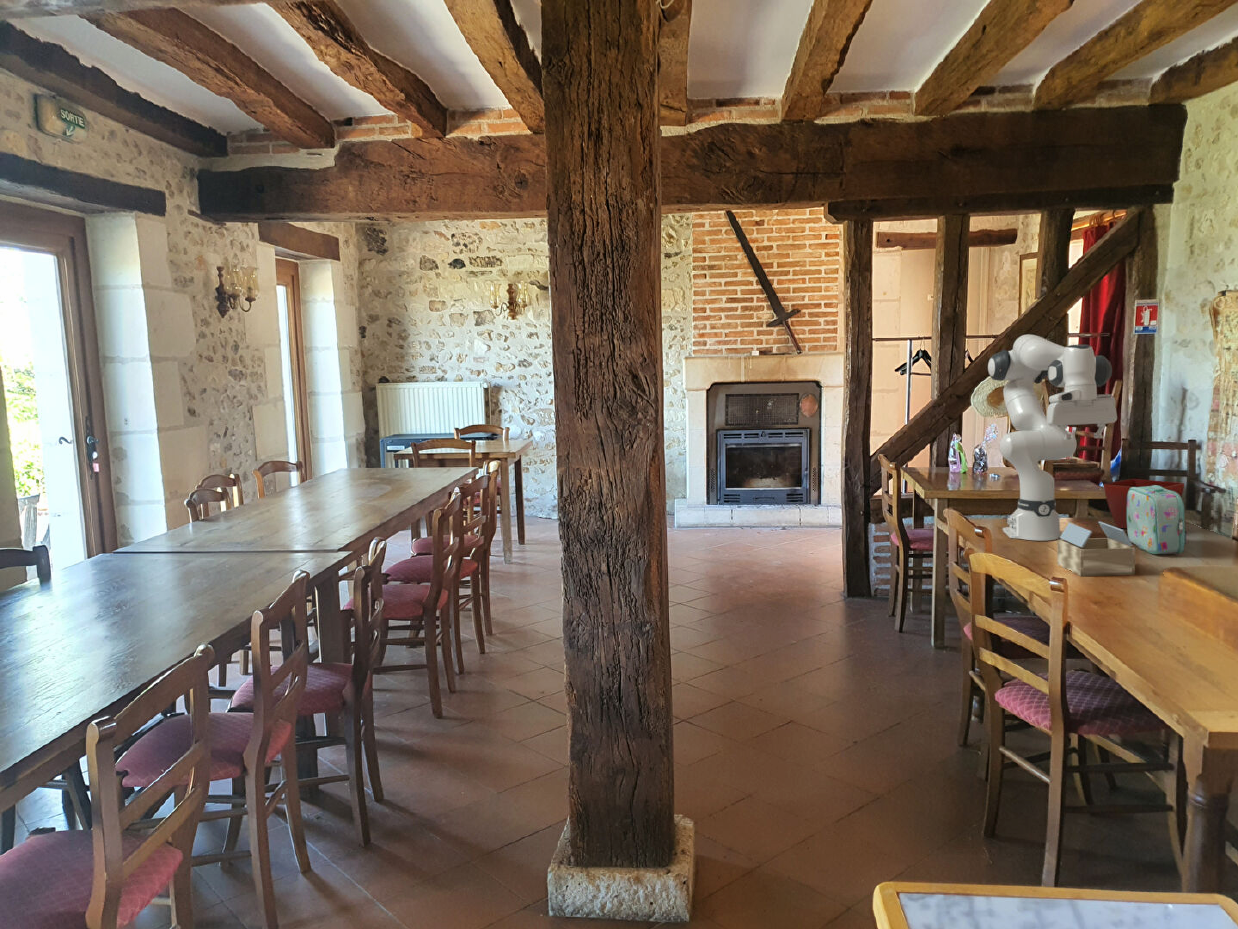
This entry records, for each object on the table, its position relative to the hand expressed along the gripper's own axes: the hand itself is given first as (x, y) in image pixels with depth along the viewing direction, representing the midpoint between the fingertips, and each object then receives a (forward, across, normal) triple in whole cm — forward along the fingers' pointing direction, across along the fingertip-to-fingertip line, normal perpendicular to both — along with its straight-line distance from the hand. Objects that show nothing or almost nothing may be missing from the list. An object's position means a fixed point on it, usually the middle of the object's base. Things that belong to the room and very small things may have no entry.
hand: (1082, 438), depth 263 cm
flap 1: (+32, +10, +10) cm, 35 cm away
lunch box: (+38, -29, -14) cm, 50 cm away
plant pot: (+35, -43, -47) cm, 73 cm away
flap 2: (+32, -5, +10) cm, 34 cm away
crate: (+40, +2, +9) cm, 41 cm away
